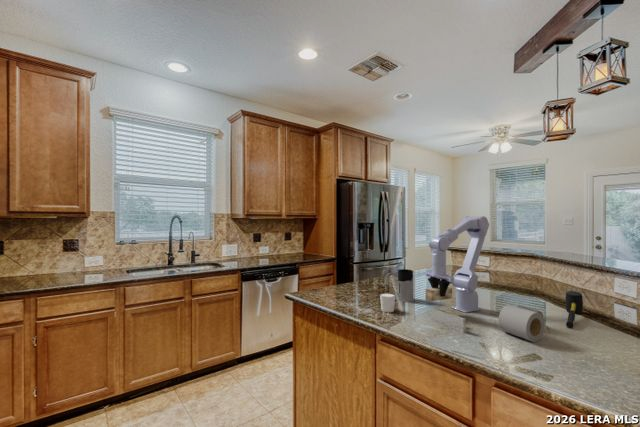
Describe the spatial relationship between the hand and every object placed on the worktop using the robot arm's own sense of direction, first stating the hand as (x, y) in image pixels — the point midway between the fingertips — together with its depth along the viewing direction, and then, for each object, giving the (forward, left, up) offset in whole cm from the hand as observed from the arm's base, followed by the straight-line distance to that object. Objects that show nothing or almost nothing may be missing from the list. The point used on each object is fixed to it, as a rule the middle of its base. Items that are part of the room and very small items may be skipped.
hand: (439, 295), depth 136 cm
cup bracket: (+7, +12, -8) cm, 16 cm away
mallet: (-46, +28, -9) cm, 55 cm away
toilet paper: (-8, +31, -9) cm, 33 cm away
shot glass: (+17, -14, -9) cm, 24 cm away
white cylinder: (-21, +25, -9) cm, 34 cm away
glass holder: (0, -26, -9) cm, 28 cm away
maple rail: (0, 0, -2) cm, 2 cm away
